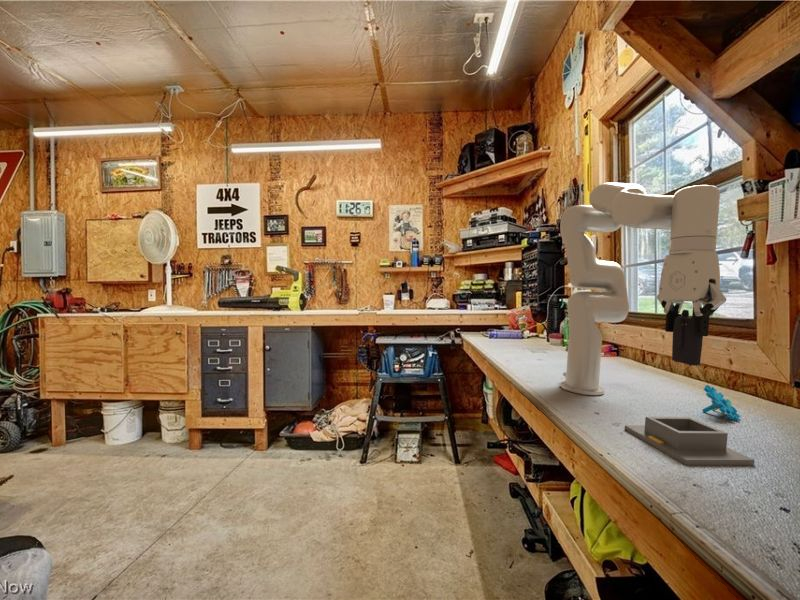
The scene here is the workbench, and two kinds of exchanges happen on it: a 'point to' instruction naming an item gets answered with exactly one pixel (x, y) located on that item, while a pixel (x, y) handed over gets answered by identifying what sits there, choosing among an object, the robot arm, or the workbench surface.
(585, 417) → the workbench surface
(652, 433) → the charging cradle
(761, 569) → the workbench surface
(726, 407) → the blue branched piece
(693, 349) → the two-way radio
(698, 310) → the robot arm
